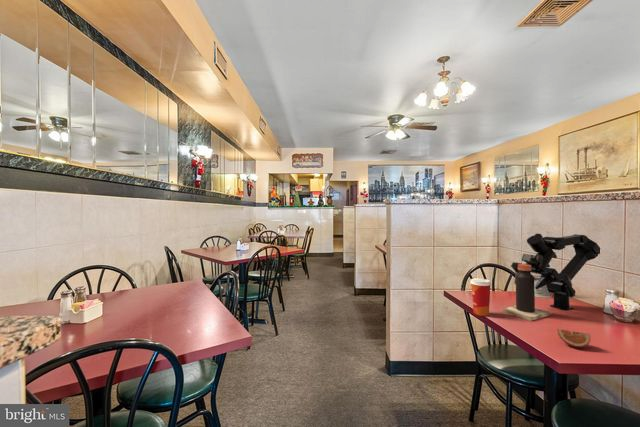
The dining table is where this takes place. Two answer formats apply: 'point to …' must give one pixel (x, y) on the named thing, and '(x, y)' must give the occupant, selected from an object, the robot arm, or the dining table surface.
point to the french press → (543, 291)
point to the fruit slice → (574, 338)
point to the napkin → (526, 313)
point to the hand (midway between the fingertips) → (525, 285)
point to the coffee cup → (480, 296)
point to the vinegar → (525, 289)
